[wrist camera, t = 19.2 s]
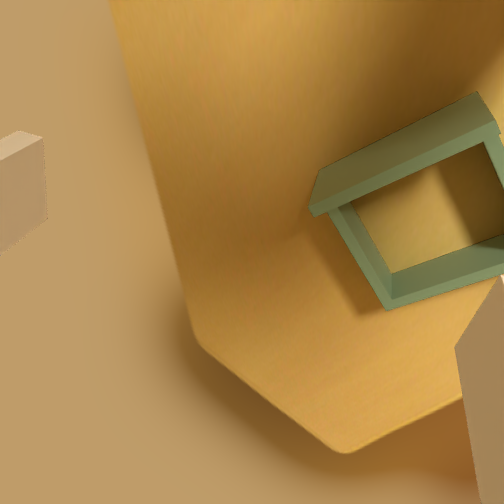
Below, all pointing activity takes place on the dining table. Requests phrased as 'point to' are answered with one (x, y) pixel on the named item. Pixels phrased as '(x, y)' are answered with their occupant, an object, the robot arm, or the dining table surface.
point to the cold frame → (401, 165)
